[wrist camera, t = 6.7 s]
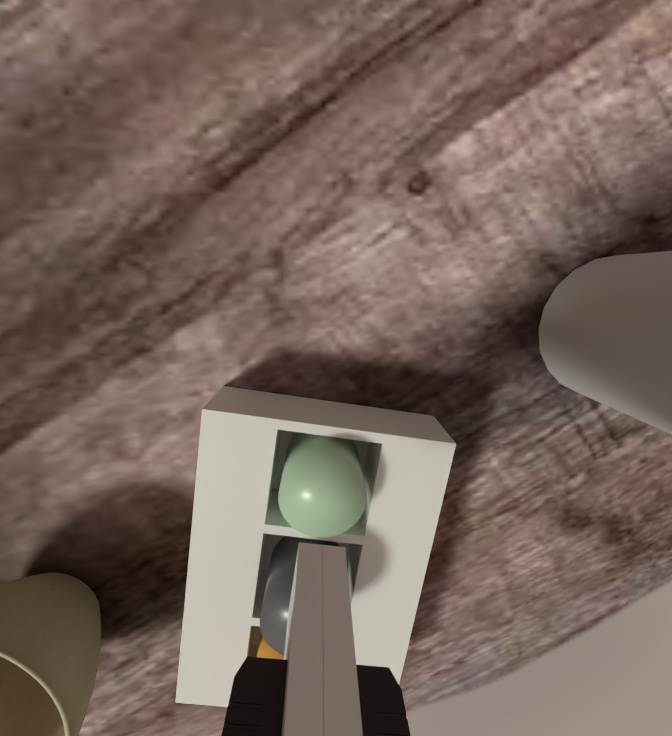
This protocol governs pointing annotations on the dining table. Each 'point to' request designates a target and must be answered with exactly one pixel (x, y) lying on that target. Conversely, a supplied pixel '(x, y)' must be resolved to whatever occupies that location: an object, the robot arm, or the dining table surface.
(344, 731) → the robot arm
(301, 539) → the black button
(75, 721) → the flower pot
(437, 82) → the dining table surface
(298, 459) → the green button
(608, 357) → the can
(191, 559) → the white compartment box
